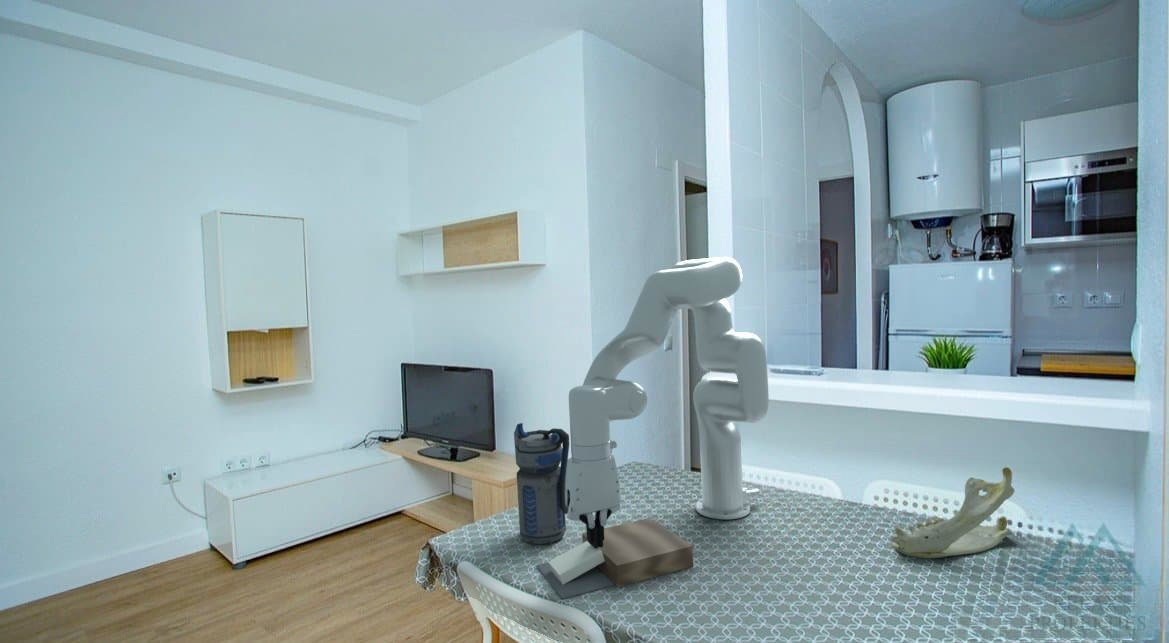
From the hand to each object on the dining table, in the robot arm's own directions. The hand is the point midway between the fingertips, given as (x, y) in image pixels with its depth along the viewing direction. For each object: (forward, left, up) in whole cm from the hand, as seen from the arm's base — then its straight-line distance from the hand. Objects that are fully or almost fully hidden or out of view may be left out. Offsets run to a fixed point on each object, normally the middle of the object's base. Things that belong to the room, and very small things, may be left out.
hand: (595, 544), depth 111 cm
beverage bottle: (+3, -19, -5) cm, 20 cm away
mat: (+5, 0, -5) cm, 7 cm away
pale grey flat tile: (+4, 0, -3) cm, 5 cm away
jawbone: (-65, +25, -5) cm, 70 cm away
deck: (-9, 0, -5) cm, 10 cm away
